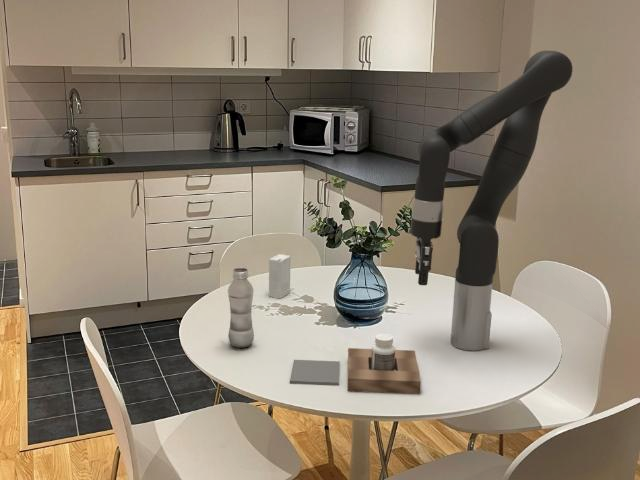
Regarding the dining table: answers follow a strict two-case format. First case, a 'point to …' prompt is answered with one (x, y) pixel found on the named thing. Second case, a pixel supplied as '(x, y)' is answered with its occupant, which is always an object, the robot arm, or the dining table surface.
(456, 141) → the robot arm
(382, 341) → the pill bottle
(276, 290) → the skincare box
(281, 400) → the dining table surface
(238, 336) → the plastic bottle
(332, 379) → the charcoal mat
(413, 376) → the walnut dock
